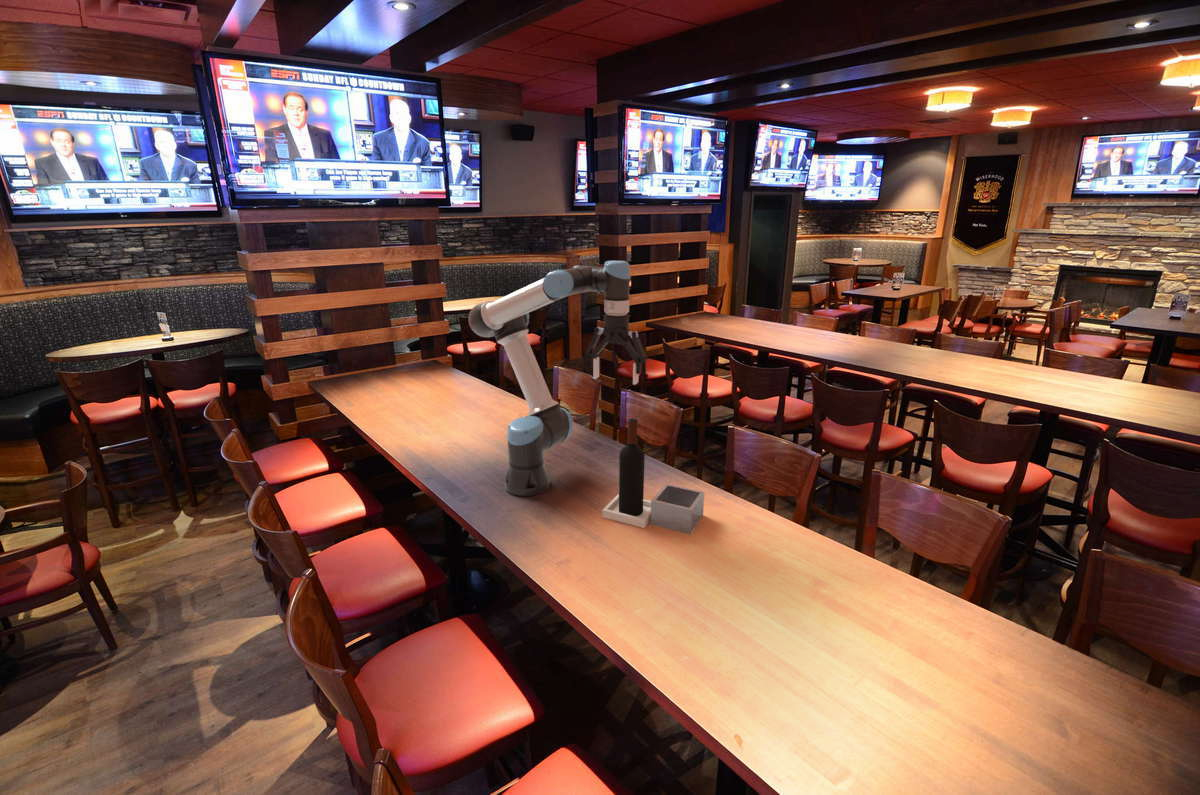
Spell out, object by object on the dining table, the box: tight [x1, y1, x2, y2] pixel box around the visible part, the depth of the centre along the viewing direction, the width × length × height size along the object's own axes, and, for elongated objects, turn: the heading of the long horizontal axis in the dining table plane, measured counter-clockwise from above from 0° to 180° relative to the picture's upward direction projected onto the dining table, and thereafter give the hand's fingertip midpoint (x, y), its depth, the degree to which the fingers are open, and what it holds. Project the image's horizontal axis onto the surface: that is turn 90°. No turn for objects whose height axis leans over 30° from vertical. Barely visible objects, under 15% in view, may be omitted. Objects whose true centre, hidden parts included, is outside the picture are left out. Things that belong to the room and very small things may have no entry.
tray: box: [601, 493, 651, 529], centre depth 179 cm, size 14×12×2 cm
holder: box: [649, 483, 705, 535], centre depth 175 cm, size 12×12×8 cm
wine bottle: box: [618, 418, 646, 517], centre depth 174 cm, size 8×8×30 cm
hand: (615, 380), depth 181 cm, fingers open, 13 cm apart
